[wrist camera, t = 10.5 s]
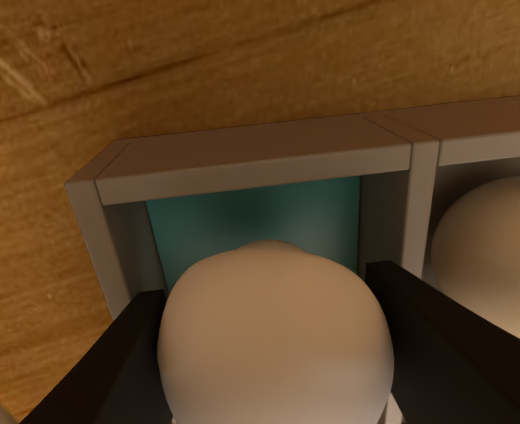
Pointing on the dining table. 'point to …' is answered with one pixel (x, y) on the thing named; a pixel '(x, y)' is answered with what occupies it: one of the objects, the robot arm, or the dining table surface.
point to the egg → (482, 252)
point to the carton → (289, 192)
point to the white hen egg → (274, 341)
